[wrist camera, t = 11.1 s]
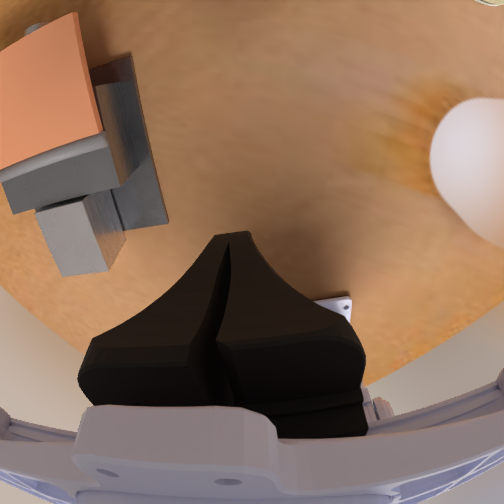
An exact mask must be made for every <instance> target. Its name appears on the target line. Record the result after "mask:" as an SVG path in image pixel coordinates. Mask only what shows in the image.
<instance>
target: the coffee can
mask: <svg viewBox="0 0 504 504" xmlns="http://www.w3.org/2000/svg"><path fill="white" fill-rule="evenodd" d="M474 1H476V2H478V3H481V4H484V5H488V6H500V5H504V0H474Z"/></svg>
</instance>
